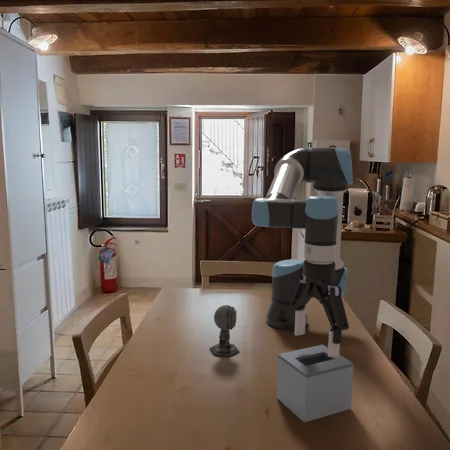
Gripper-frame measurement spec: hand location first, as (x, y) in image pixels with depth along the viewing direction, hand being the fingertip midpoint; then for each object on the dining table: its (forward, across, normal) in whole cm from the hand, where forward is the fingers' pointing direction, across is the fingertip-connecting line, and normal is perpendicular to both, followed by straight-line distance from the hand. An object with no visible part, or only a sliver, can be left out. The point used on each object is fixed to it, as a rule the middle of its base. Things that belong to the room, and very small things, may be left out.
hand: (315, 344), depth 113 cm
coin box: (+16, 0, 0) cm, 16 cm away
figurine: (+16, -37, -7) cm, 41 cm away
